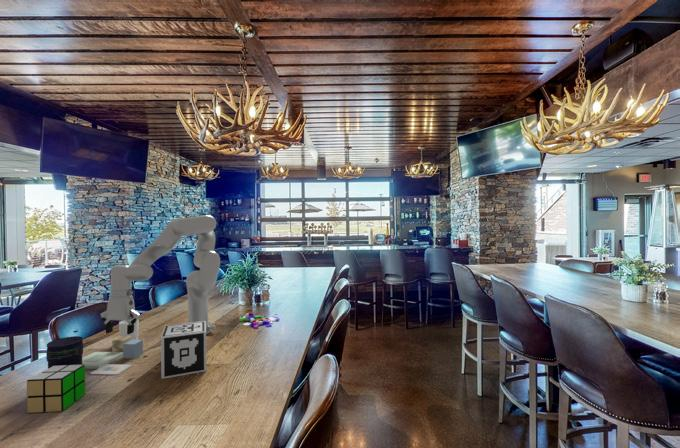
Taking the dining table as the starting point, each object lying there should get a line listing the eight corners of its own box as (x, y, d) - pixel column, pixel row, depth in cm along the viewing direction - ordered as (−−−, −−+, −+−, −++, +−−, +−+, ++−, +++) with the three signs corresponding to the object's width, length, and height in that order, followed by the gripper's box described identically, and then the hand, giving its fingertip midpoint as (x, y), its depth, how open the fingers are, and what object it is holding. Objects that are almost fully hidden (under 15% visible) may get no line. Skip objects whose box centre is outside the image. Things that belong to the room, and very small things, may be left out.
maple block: (131, 349, 143) (131, 336, 143) (123, 354, 138) (123, 340, 138) (120, 349, 144) (120, 336, 144) (112, 354, 139) (112, 340, 139)
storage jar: (42, 393, 106) (41, 339, 106) (51, 380, 115) (51, 330, 115) (80, 386, 111) (79, 334, 111) (86, 374, 120) (86, 326, 120)
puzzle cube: (53, 396, 105) (53, 365, 105) (86, 394, 106) (85, 364, 106) (26, 414, 95) (25, 380, 95) (62, 412, 96) (62, 378, 96)
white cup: (129, 346, 148) (129, 324, 148) (114, 344, 149) (114, 323, 149) (143, 339, 155) (142, 319, 155) (129, 338, 157) (128, 318, 157)
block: (165, 362, 130) (165, 325, 130) (205, 356, 136) (205, 320, 136) (161, 379, 116) (160, 337, 116) (206, 371, 122) (206, 331, 122)
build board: (123, 355, 137) (123, 352, 137) (99, 368, 124) (99, 365, 124) (94, 354, 138) (94, 351, 138) (67, 368, 125) (67, 364, 125)
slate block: (142, 353, 139) (142, 339, 139) (134, 358, 134) (134, 344, 134) (131, 353, 139) (131, 339, 139) (123, 358, 134) (123, 344, 134)
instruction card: (132, 365, 127) (132, 364, 127) (117, 375, 119) (117, 373, 119) (106, 364, 128) (106, 363, 128) (89, 374, 120) (89, 373, 120)
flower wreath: (284, 325, 177) (284, 317, 177) (245, 331, 168) (245, 322, 168) (272, 314, 200) (272, 307, 200) (238, 318, 190) (237, 311, 190)
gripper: (145, 292, 144) (144, 331, 144) (108, 291, 145) (107, 329, 145) (133, 295, 137) (132, 336, 136) (95, 294, 138) (93, 335, 137)
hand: (119, 333), depth 140 cm, fingers open, 9 cm apart
